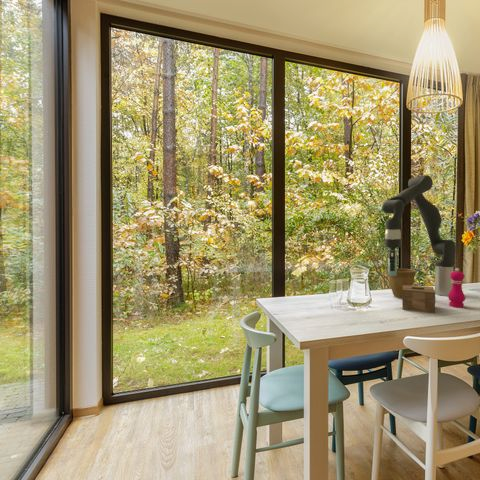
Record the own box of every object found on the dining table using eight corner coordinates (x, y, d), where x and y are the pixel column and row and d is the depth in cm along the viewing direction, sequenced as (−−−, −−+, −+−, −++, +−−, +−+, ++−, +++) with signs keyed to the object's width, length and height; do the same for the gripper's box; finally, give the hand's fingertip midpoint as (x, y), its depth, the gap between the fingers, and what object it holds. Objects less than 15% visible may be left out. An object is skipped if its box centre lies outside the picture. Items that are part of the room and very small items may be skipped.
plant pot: (415, 295, 187) (416, 269, 186) (414, 301, 174) (414, 272, 173) (388, 292, 195) (388, 267, 194) (385, 297, 182) (385, 270, 181)
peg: (388, 274, 168) (388, 257, 168) (396, 274, 166) (396, 258, 166) (388, 275, 165) (388, 258, 164) (396, 276, 163) (396, 258, 162)
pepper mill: (467, 308, 158) (468, 269, 157) (451, 307, 160) (452, 268, 159) (460, 304, 165) (461, 267, 164) (445, 304, 167) (446, 266, 166)
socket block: (402, 303, 170) (402, 284, 169) (432, 306, 163) (432, 287, 163) (402, 309, 157) (402, 289, 157) (434, 312, 151) (435, 292, 150)
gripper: (385, 237, 172) (385, 268, 173) (384, 238, 160) (383, 272, 161) (401, 237, 169) (400, 268, 170) (400, 238, 156) (400, 272, 157)
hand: (392, 270), depth 165 cm, fingers closed on peg, 4 cm apart
